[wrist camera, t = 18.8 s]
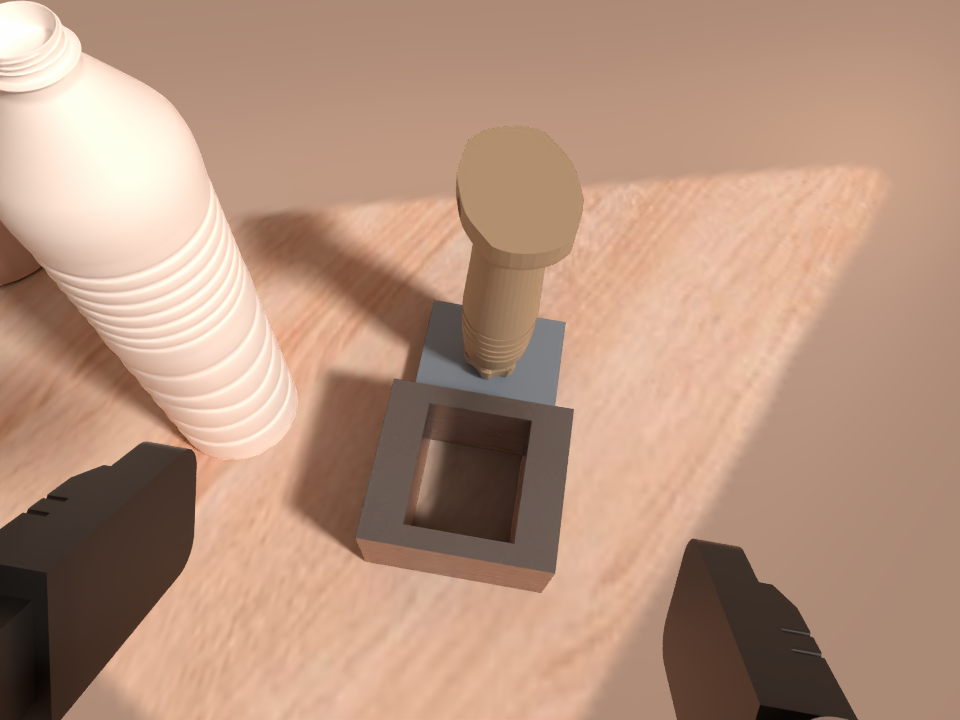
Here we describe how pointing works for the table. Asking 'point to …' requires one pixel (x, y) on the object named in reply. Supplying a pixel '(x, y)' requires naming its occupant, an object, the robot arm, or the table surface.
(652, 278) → the table surface
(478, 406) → the socket block
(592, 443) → the table surface
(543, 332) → the rubber mat
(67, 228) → the water bottle
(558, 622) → the table surface
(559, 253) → the handle
